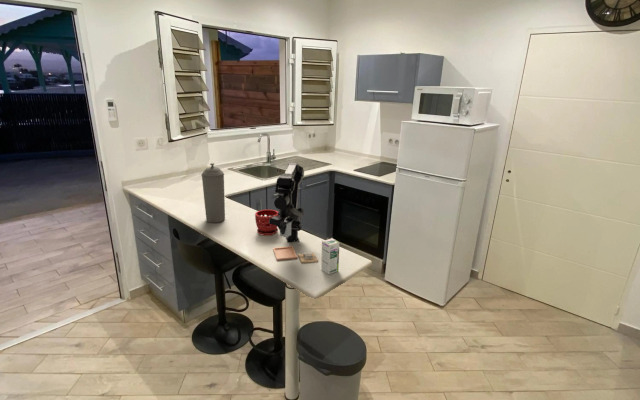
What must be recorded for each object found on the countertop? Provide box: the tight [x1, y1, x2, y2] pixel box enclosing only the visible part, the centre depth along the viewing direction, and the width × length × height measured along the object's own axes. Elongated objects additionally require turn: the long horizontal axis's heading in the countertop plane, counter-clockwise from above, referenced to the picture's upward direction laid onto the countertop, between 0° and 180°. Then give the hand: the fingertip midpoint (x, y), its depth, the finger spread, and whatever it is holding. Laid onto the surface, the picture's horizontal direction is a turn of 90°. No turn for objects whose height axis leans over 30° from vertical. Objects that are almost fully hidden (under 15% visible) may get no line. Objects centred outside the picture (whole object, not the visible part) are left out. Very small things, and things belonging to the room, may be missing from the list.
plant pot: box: [254, 209, 280, 237], centre depth 196 cm, size 13×13×12 cm
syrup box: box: [320, 237, 340, 275], centre depth 157 cm, size 6×6×14 cm
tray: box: [272, 245, 298, 261], centre depth 173 cm, size 12×10×1 cm
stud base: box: [297, 251, 319, 264], centre depth 169 cm, size 8×8×2 cm
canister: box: [201, 162, 226, 224], centre depth 207 cm, size 13×13×35 cm
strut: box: [279, 220, 291, 239], centre depth 169 cm, size 4×4×7 cm
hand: (285, 232), depth 170 cm, fingers closed on strut, 4 cm apart
